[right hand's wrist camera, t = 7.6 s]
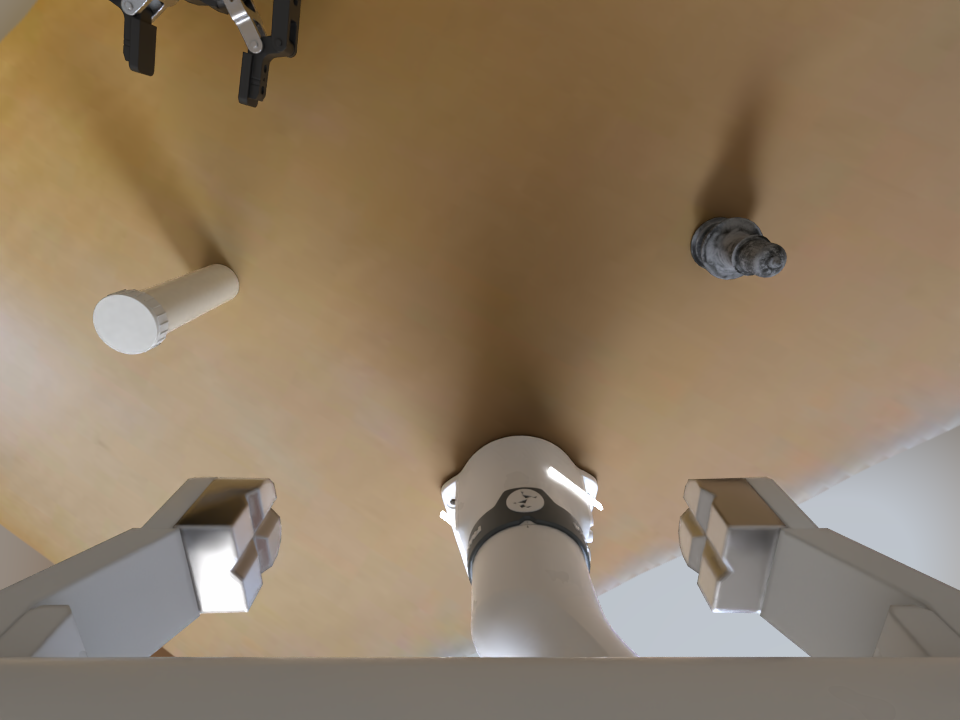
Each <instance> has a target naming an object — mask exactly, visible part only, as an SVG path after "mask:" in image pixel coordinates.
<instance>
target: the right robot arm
mask: <svg viewBox="0 0 960 720" xmlns="http://www.w3.org/2000/svg"><path fill="white" fill-rule="evenodd" d="M597 490H598V485H597V481H596V479H595V478H594V477H593V476H592V475H590V474H589V473H587V472H585V471H583V470H581V469H579V468H578V467H577V466H576V465H575V464H574V463H573V462H572V461H571V459H570V458H569V457H568V456H567V455H566V453H565V452H563V451H562V450H561V449H560V448H559V447H557V446H556V445H554V444H552V443H550V442H548V441H546V440H543V439H540V438H536V437H531V436H510V437H505V438H501V439H498V440H495V441H493V442H491V443H489V444H487V445H485V446H483V447H482V448H481V449H479V450H478V451H477V452H476V453H475V454H474V455H473V456H472V457H471V458H470V459H469V461H468V462H467V464H466V465H465V467H464V468H463V470H462V471H461V472H460V473H459V474H458V475H456V476H455V477H453V478H451V479H450V480H449V481H447V482H446V483H445V484H444V485H443V486H442V489H441V494H442V499H443V502H444V505H445V508H446V511H447V514H446V513H445V512H444V511H442V512H441V515H440V517H441V518H443V519H444V520H445V521H447V522H448V523H449V524H451V526H452V529H453V532H454V535H455V538H456V541H457V544H458V547H459V550H460V553H461V556H462V559H463V562H464V565H465V568H466V571H467V574H468V577H469V580H470V583H471V585H472V598H471V635H472V639H473V643H474V646H475V648H476V651H477V653H478V654H479V656H480V657H150V656H151V655H152V654H153V653H154V652H156V651H157V650H158V649H159V648H161V647H162V646H163V645H164V644H166V643H167V642H168V641H169V640H171V639H172V638H173V637H174V636H175V635H177V634H178V633H179V632H180V631H182V630H183V629H184V628H185V627H187V626H188V625H189V624H190V623H192V622H193V621H194V620H195V619H196V618H198V617H199V616H200V614H199V613H226V612H248V611H249V609H250V607H251V605H252V603H253V601H254V599H255V598H256V596H257V594H258V592H259V590H260V588H261V586H262V584H263V582H262V576H261V573H263V572H264V571H266V570H267V569H269V568H270V567H272V565H273V563H274V561H275V559H276V557H277V555H278V551H279V547H280V543H281V522H280V517H279V516H278V514H277V513H276V512H275V511H274V510H273V509H272V508H271V506H272V505H273V503H274V501H275V500H276V498H277V496H276V491H275V486H274V483H273V482H272V481H271V480H270V479H269V478H222V477H220V478H217V477H195V478H191V479H188V480H187V481H186V482H185V483H184V484H183V485H182V486H181V487H180V488H179V489H178V490H177V491H176V492H175V493H174V494H173V495H172V496H171V498H170V499H169V500H168V501H167V502H166V503H165V504H164V505H163V506H162V507H161V508H160V509H159V510H158V511H157V512H156V513H155V514H154V515H153V516H152V517H151V518H150V519H149V521H148V522H147V523H146V524H145V525H144V526H143V527H142V528H132V529H130V530H128V531H126V532H124V533H121V534H119V535H117V536H115V537H113V538H111V539H109V540H107V541H104V542H102V543H100V544H98V545H96V546H94V547H92V548H90V549H87V550H85V551H83V552H81V553H79V554H77V555H75V556H72V557H70V558H68V559H66V560H64V561H62V562H60V563H58V564H55V565H53V566H51V567H49V568H47V569H45V570H43V571H41V572H38V573H36V574H34V575H32V576H30V577H28V578H26V579H24V580H21V581H19V582H17V583H15V584H13V585H11V586H9V587H6V588H4V589H2V590H0V720H960V591H959V590H957V589H955V588H953V587H951V586H949V585H947V584H945V583H943V582H940V581H938V580H936V579H934V578H932V577H930V576H928V575H926V574H923V573H921V572H919V571H917V570H915V569H913V568H911V567H909V566H906V565H904V564H902V563H900V562H898V561H896V560H894V559H892V558H889V557H887V556H885V555H883V554H881V553H879V552H877V551H875V550H872V549H870V548H868V547H866V546H864V545H862V544H860V543H858V542H855V541H853V540H851V539H849V538H847V537H845V536H843V535H841V534H838V533H836V532H834V531H832V530H830V529H828V528H818V527H817V526H816V525H815V524H814V523H813V522H812V520H810V518H809V517H808V516H807V515H806V514H805V513H804V512H803V511H802V510H801V509H800V508H799V507H798V506H797V505H796V504H795V503H794V502H793V501H792V500H791V498H790V497H789V496H788V495H787V494H786V493H785V492H784V491H783V490H782V489H781V488H780V487H779V486H778V485H777V484H776V483H775V482H774V481H773V480H772V479H770V478H767V477H750V478H724V479H688V482H687V484H686V486H685V490H684V496H683V498H684V500H685V501H686V503H687V505H688V506H689V508H688V509H687V510H686V511H685V512H684V513H683V514H682V516H681V517H680V523H679V531H678V532H679V543H680V548H681V551H682V555H683V557H684V559H685V561H686V563H687V565H688V566H689V567H690V568H691V569H693V570H694V571H696V572H697V573H699V576H698V582H697V584H698V586H699V588H700V590H701V592H702V594H703V596H704V598H705V599H706V601H707V603H708V605H709V607H710V609H711V611H712V612H733V613H760V616H761V617H763V618H764V619H765V620H766V621H767V622H769V623H770V624H771V625H772V626H774V627H775V628H776V629H777V630H779V631H780V632H781V633H782V634H783V635H785V636H786V637H787V638H788V639H790V640H791V641H792V642H793V643H795V644H796V645H797V646H798V647H800V648H801V649H802V650H803V651H804V652H806V653H807V654H808V655H809V656H811V657H639V656H638V655H637V654H636V653H635V652H634V651H633V650H632V649H631V648H630V647H629V646H628V645H627V644H626V643H625V642H624V641H623V640H622V639H621V638H620V637H619V635H618V634H617V633H616V632H615V631H614V629H613V628H612V627H611V625H610V624H609V622H608V620H607V619H606V617H605V615H604V613H603V611H602V608H601V605H600V603H599V600H598V598H597V595H596V592H595V589H594V587H593V584H592V581H591V577H590V574H589V573H590V558H591V555H590V549H589V547H588V545H587V542H588V543H589V542H590V543H591V542H592V540H593V532H592V530H590V527H591V526H593V516H592V510H593V506H595V507H597V508H598V509H599V510H602V509H603V508H602V505H601V504H600V503H599V502H597V501H596V500H595V498H596V494H597ZM587 493H588V494H587ZM451 499H455V501H451Z"/></svg>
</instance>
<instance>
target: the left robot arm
mask: <svg viewBox="0 0 960 720" xmlns="http://www.w3.org/2000/svg"><path fill="white" fill-rule="evenodd" d="M110 1H111V2H112V3H114V4H115V5H117V6H118V7H119V8H120V9H121V10H122V12H123V14H124V18H125V21H124V48H123V53H124V57H125V60H126V61H129V67H130V69H131V70H132V71H135V72H138V73H141V74H145V75H149V76H152V75H153V74H154V66H155V48H156V30H157V27H155V26H153V25H151V24H152V23H153V22H154V21H155V20H156V19H157V18H158V17H159V16H160V14H161V13H162V12H163V11H164V10H165V9H166V8H167V7H171V6H174V5H175V4H176V3H177V2H178V1H179V0H110ZM185 1H187V2H189V3H192V4H195V5H200V6H210V7H212V8H213V9H215V10H217V11H218V12H221V13H224V14H228V13H229V14H230V16H231V18H232V19H233V21H234V22H235V23H236V25H237V26H238V28H239V30H240V33H241V35H242V37H243V39H244V41H245V43H246V45H247V47H248V53H246V52H243V58H242V67H241V77H240V86H239V95H238V100H239V103H241V104H244V105H248V106H251V107H256V106H257V104H258V101H263V99H264V98H265V95H266V87H267V79H268V71H269V64H270V62H271V60H272V59H273V58H276V57H289V58H292V57H294V56H295V55H296V53H297V42H298V30H299V18H300V5H301V0H274V2H273V17H272V32H271V36H267V34H266V32H265V30H264V28H263V22H262V20H261V18H260V16H259V13H258V11H257V9H256V7H255V5H254V3H253V1H252V0H185Z"/></svg>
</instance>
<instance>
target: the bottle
mask: <svg viewBox="0 0 960 720" xmlns="http://www.w3.org/2000/svg"><path fill="white" fill-rule="evenodd" d="M238 290H239V281H238V278H237V276H236V275H235V273H234V272H233V271H232V270H231V269H230V268H228V267H226V266H224V265H221V264H212V265H209V266H206V267H203V268H201V269H198V270H195V271H192V272H190V273H187V274H184V275H181V276H179V277H176V278H173V279H170V280H167V281H165V282H162V283H159V284H156V285H154V286H151V287H148V288H145V289H143V290H140V291H141V292H145V293H146V294H148V295H150V296H151V297H154V299H155V300H157V301H158V302H159V304H161V306H162V307H163V309H164V311H165V312H166V315H167V318H168V321H169V323H168V330H169V331H168V332H167V334H168V333H169V332H171V331H173V330H175V329H177V328H179V327H181V326H183V325H184V324H186V323H188V322H190V321H192V320H194V319H196V318H198V317H200V316H201V315H203V314H205V313H207V312H209V311H211V310H213V309H215V308H216V307H218V306H220V305H222V304H224V303H226V302H228V301H230V300H232V299H233V298H234V297H235V296H236V295H237V293H238Z"/></svg>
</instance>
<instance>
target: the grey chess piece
mask: <svg viewBox="0 0 960 720" xmlns="http://www.w3.org/2000/svg"><path fill="white" fill-rule="evenodd" d="M691 253H692V257H693V259H694V260H695V262H696V263H697V264H698V265H699V266H701V267H703V268H705V269H706V270H707V271H708V272H709V273H710V274H711V275H713V276H715V277H717V278H720V279H726V280H727V279H735V278H738V277H741V276H743V275H746V276H750V275H757V276H759V277H772V276H775V275H776V274H778V273H779V272H780V271H781V270H782V269H783V267H784V266H785V263H786V259H787V256H786V252H785V250H784V249H783V248H782V247H781V246H779V245H778V244H774V243H771V242H770V241H769V240H768V239H767V238H766V237H764V236H763V235H762V233H761V231H760V228H759V227H758V226H757V225H756V224H755V223H754V222H752V221H750V220H748V219H745V218H740V217H736V218H723V217H719V218H713V219H711V220H708V221H706V222H705V223H703V224H702V225H701V226H700V227H699V228H698V229H697V230H696V232H695V234H694V235H693V238H692V241H691Z"/></svg>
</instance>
